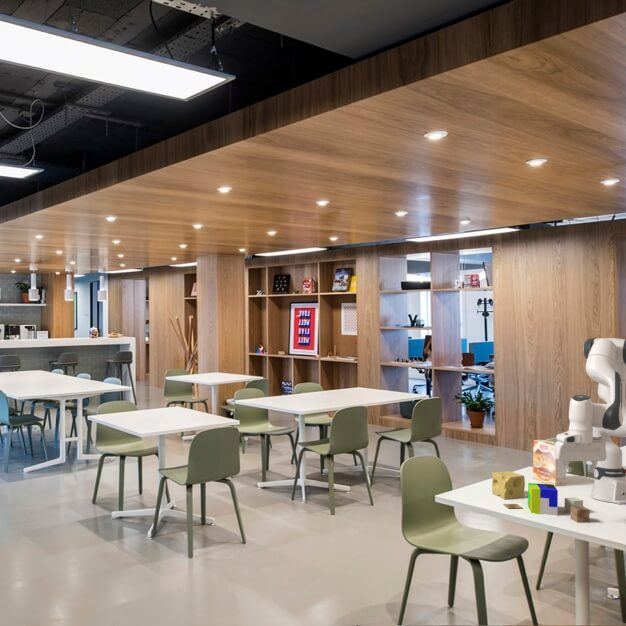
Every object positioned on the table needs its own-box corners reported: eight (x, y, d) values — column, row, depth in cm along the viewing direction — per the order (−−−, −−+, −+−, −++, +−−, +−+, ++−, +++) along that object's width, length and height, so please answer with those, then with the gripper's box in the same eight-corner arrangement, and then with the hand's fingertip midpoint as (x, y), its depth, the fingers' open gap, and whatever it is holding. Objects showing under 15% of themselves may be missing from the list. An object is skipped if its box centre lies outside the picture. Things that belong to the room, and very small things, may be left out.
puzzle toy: (557, 515, 252) (557, 490, 252) (531, 513, 254) (531, 488, 255) (553, 508, 262) (553, 484, 262) (528, 506, 264) (528, 482, 264)
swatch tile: (516, 504, 266) (516, 503, 266) (522, 508, 260) (522, 507, 260) (503, 504, 266) (503, 504, 266) (509, 509, 260) (509, 508, 260)
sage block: (573, 509, 262) (574, 497, 262) (582, 512, 257) (583, 500, 257) (564, 510, 260) (564, 498, 260) (573, 513, 255) (573, 501, 255)
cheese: (504, 499, 274) (504, 477, 274) (490, 493, 284) (491, 471, 284) (524, 498, 277) (525, 475, 277) (510, 492, 287) (511, 470, 287)
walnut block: (582, 518, 249) (582, 505, 249) (589, 522, 244) (589, 509, 244) (570, 518, 248) (570, 506, 249) (577, 522, 243) (577, 509, 244)
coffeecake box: (532, 479, 312) (532, 440, 313) (543, 478, 315) (543, 439, 315) (554, 486, 298) (555, 445, 299) (566, 485, 301) (566, 444, 302)
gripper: (601, 435, 251) (600, 470, 251) (552, 435, 249) (551, 470, 249) (610, 438, 245) (609, 473, 245) (560, 438, 243) (559, 474, 242)
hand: (580, 472), depth 247 cm, fingers open, 8 cm apart
